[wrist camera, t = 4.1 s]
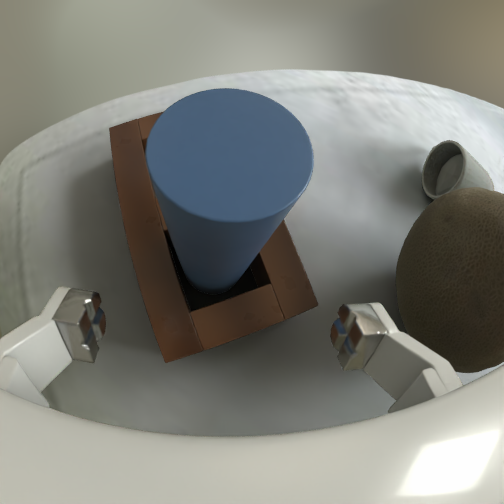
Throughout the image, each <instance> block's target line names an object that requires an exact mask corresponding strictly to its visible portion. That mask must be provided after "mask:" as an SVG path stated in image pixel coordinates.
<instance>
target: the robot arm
mask: <svg viewBox="0 0 504 504" xmlns="http://www.w3.org/2000/svg"><path fill="white" fill-rule="evenodd" d="M100 304H101V298H100V295H99V293H98V292H95V291H89V290H82V289H76V288H68V287H62V286H60V287H58V288H57V289H56V291H55V292H54V294H53V295H52V297H51V298H50V300H49V301H48V303H47V304H46V306H45V308H44V309H43V311H42V312H41V314H40V316H39V317H36V316H35V317H33V318H32V319H30V320H29V321H27V322H25V323H24V324H22V325H20V326H19V327H17V328H16V329H14V330H13V331H11V332H9V333H8V334H6V335H5V336H3V337H2V338H0V504H504V364H503V365H502V366H500V367H498V368H497V369H495V370H493V371H491V372H489V373H488V374H486V375H484V376H482V377H480V378H478V379H476V380H474V381H472V382H470V383H468V384H466V385H463V384H462V382H461V380H460V379H459V377H458V375H457V374H456V372H455V371H454V369H453V367H452V366H451V364H450V363H449V361H447V360H446V359H444V358H443V357H441V356H440V355H438V354H437V353H435V352H434V351H432V350H430V349H429V348H427V347H426V346H424V345H423V344H421V343H420V342H418V341H417V340H415V339H413V338H412V337H410V336H409V335H407V334H406V333H404V332H400V331H399V330H398V328H397V327H396V325H395V324H394V322H393V321H392V319H391V318H390V316H389V315H388V313H387V312H386V310H385V309H384V307H383V306H382V304H380V303H367V304H343V305H342V306H341V307H340V308H339V311H338V315H339V318H338V319H337V320H336V321H334V322H333V325H332V328H331V335H330V337H331V342H332V345H333V347H334V348H335V349H336V350H338V351H339V353H338V356H337V357H338V360H339V362H340V365H341V367H342V370H343V371H347V370H357V369H363V370H364V371H365V372H366V373H367V374H368V375H369V376H370V377H371V378H372V379H374V380H375V381H376V382H377V383H378V384H379V385H380V386H381V387H382V388H383V389H384V390H385V391H386V392H388V393H389V394H390V395H391V396H392V397H393V398H394V399H395V400H396V402H395V403H394V404H393V405H392V406H391V407H390V408H389V410H388V413H389V414H386V415H382V416H378V417H375V418H371V419H367V420H363V421H358V422H354V423H349V424H345V425H340V426H335V427H329V428H323V429H317V430H310V431H303V432H295V433H286V434H275V435H260V436H192V435H178V434H167V433H158V432H150V431H143V430H136V429H130V428H124V427H119V426H114V425H109V424H105V423H100V422H96V421H92V420H88V419H84V418H80V417H76V416H73V415H70V414H66V413H63V412H60V411H57V410H54V409H51V408H49V406H50V405H49V403H48V401H47V400H46V399H45V398H44V396H43V395H42V394H41V393H40V392H41V391H42V390H43V389H44V388H45V387H46V386H47V385H48V384H49V383H50V382H51V381H52V380H53V379H54V378H55V377H56V376H58V375H59V374H60V373H61V372H62V371H63V370H64V369H65V368H66V367H67V366H68V365H69V364H70V363H71V362H72V361H73V360H77V361H83V362H89V363H94V362H95V359H96V357H97V354H98V351H99V346H98V343H97V342H99V341H100V340H102V339H103V337H104V334H105V329H106V317H105V314H104V311H103V310H102V309H101V308H100V307H99V306H100Z"/></svg>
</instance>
